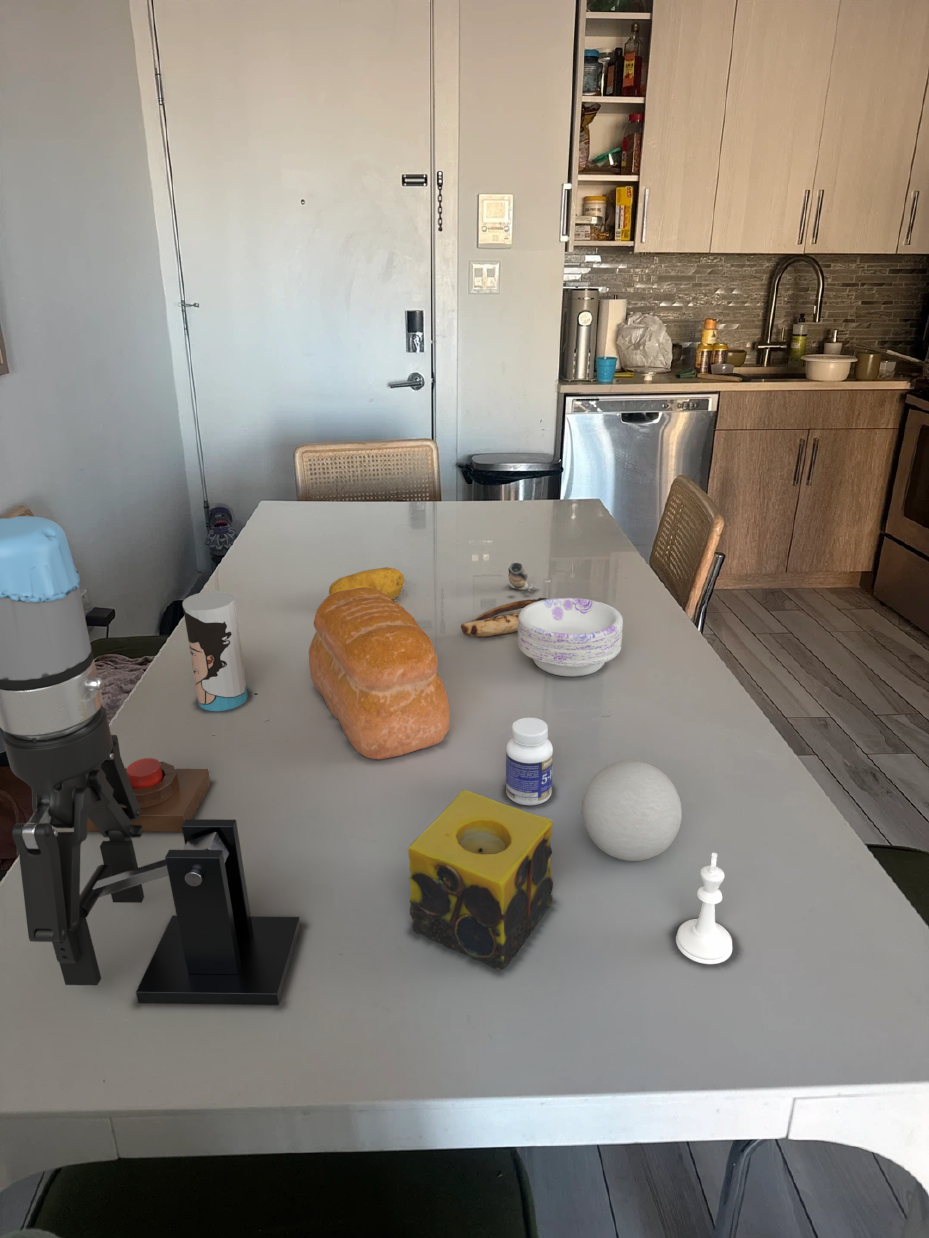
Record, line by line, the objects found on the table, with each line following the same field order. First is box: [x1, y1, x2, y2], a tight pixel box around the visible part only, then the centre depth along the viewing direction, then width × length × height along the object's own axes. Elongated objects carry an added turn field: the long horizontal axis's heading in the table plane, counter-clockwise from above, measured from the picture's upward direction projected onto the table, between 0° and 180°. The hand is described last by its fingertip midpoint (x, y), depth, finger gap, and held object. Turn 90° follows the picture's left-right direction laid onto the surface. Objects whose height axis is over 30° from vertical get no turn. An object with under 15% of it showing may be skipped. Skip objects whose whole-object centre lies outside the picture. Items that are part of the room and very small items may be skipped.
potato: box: [328, 566, 406, 601], centre depth 150 cm, size 8×14×7 cm, turn 118°
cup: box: [182, 590, 249, 712], centre depth 119 cm, size 7×7×15 cm
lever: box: [79, 832, 229, 919], centre depth 74 cm, size 13×5×2 cm, turn 88°
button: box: [126, 757, 163, 788], centre depth 97 cm, size 4×4×2 cm
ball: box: [581, 760, 683, 862], centre depth 89 cm, size 10×10×10 cm
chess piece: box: [675, 852, 733, 965], centre depth 77 cm, size 5×5×10 cm
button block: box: [87, 761, 212, 833], centre depth 98 cm, size 11×9×4 cm
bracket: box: [135, 818, 301, 1006], centre depth 75 cm, size 12×9×14 cm
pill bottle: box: [505, 717, 554, 806], centre depth 98 cm, size 5×5×9 cm
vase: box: [507, 562, 537, 592], centre depth 155 cm, size 5×5×6 cm
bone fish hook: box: [460, 597, 548, 638], centre depth 141 cm, size 9×5×18 cm
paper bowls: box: [517, 597, 624, 678], centre depth 128 cm, size 15×15×8 cm
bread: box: [308, 587, 451, 760], centre depth 115 cm, size 14×26×15 cm, turn 24°
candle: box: [407, 789, 554, 971], centre depth 80 cm, size 10×10×10 cm
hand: (107, 938), depth 77 cm, fingers open, 9 cm apart
